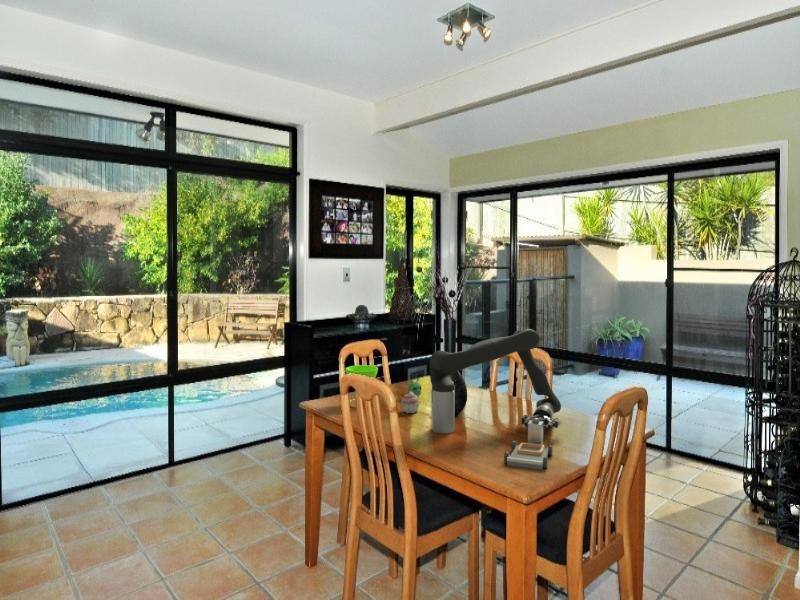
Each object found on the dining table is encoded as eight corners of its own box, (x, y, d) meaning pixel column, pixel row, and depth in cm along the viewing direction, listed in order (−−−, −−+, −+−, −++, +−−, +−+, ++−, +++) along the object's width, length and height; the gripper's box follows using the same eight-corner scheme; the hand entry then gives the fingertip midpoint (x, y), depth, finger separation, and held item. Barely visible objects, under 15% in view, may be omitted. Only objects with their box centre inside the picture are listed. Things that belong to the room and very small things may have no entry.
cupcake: (405, 408, 266) (405, 388, 265) (423, 410, 261) (423, 390, 261) (397, 413, 257) (396, 392, 257) (415, 415, 253) (415, 394, 252)
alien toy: (414, 400, 280) (414, 381, 280) (405, 397, 286) (404, 378, 286) (424, 398, 284) (424, 379, 284) (415, 395, 291) (415, 377, 290)
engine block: (541, 448, 209) (541, 420, 208) (527, 446, 210) (528, 419, 210) (543, 444, 213) (543, 417, 212) (529, 442, 215) (530, 416, 214)
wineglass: (374, 409, 265) (374, 372, 264) (342, 407, 268) (341, 371, 266) (381, 400, 281) (380, 365, 280) (350, 399, 283) (350, 364, 282)
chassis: (546, 470, 186) (546, 459, 186) (503, 464, 192) (503, 454, 192) (552, 453, 203) (552, 443, 203) (513, 448, 208) (513, 438, 208)
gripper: (526, 405, 233) (519, 414, 218) (561, 408, 228) (556, 418, 213) (525, 422, 234) (519, 433, 219) (560, 426, 229) (556, 437, 214)
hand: (537, 426), depth 216 cm, fingers open, 8 cm apart
